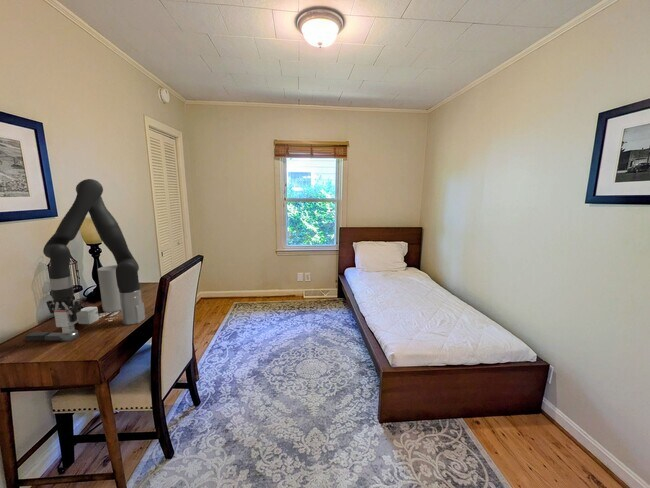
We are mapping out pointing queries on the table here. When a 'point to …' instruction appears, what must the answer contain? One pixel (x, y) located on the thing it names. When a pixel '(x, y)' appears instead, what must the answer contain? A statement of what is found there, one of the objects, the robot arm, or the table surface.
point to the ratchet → (54, 335)
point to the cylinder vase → (109, 289)
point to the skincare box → (88, 315)
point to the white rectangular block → (63, 318)
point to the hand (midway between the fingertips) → (67, 321)
